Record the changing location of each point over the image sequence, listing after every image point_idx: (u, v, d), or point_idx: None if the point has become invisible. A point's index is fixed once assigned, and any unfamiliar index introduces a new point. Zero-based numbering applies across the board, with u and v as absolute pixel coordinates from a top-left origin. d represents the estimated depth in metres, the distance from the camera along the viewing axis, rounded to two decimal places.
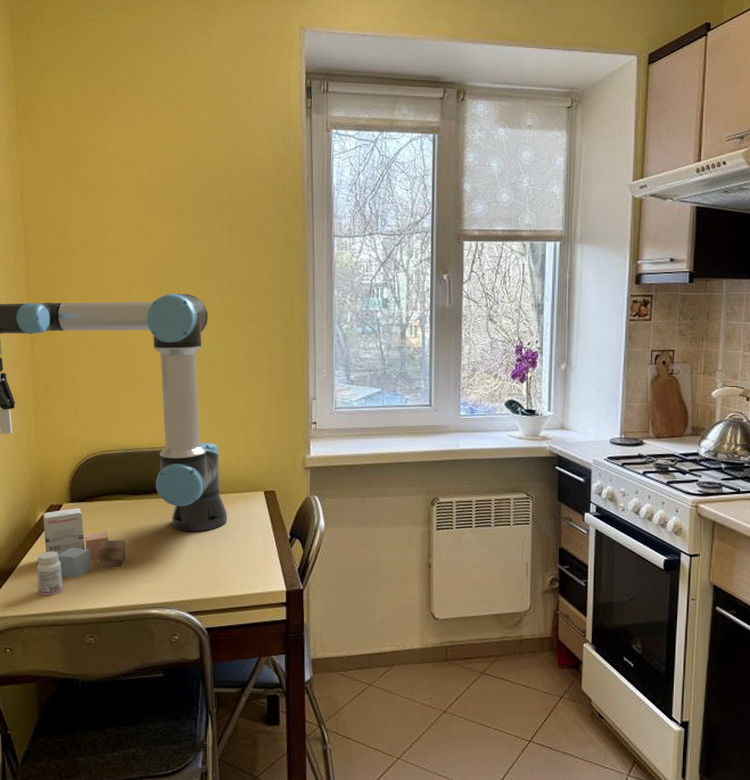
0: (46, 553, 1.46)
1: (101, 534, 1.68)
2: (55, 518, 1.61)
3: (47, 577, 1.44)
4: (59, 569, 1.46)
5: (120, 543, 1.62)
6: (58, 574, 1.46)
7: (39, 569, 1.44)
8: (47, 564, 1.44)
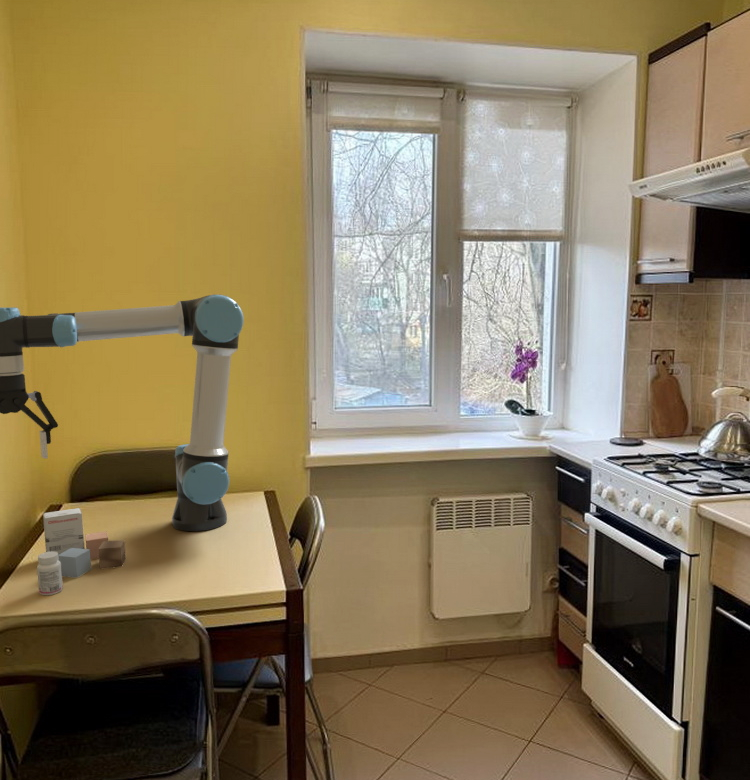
0: (46, 553, 1.46)
1: (101, 534, 1.68)
2: (55, 518, 1.61)
3: (47, 577, 1.44)
4: (59, 569, 1.46)
5: (120, 543, 1.62)
6: (58, 574, 1.46)
7: (39, 569, 1.44)
8: (47, 564, 1.44)
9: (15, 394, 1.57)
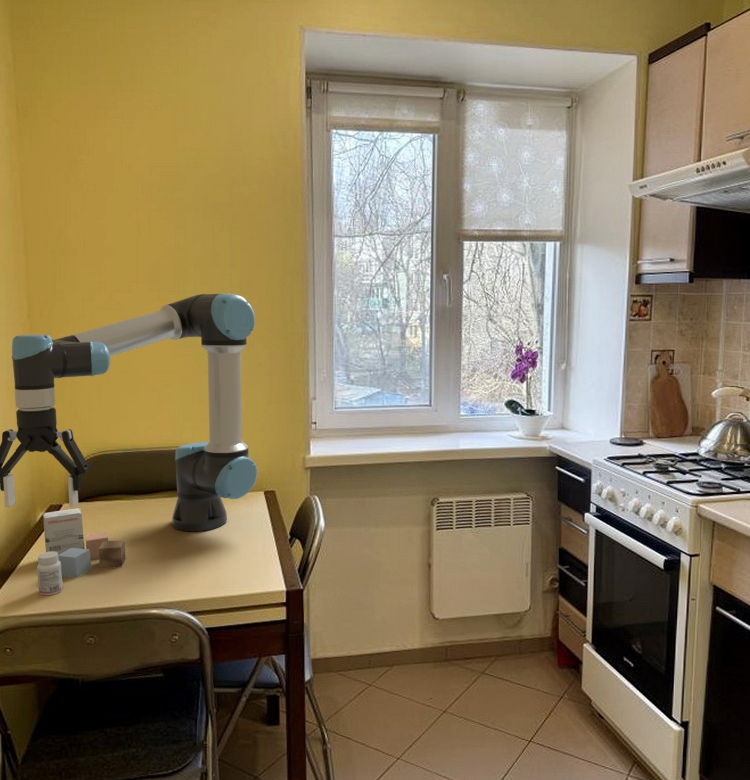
0: (46, 553, 1.46)
1: (101, 534, 1.68)
2: (55, 518, 1.61)
3: (47, 577, 1.44)
4: (59, 569, 1.46)
5: (120, 543, 1.62)
6: (58, 574, 1.46)
7: (39, 569, 1.44)
8: (47, 564, 1.44)
9: (41, 431, 1.41)
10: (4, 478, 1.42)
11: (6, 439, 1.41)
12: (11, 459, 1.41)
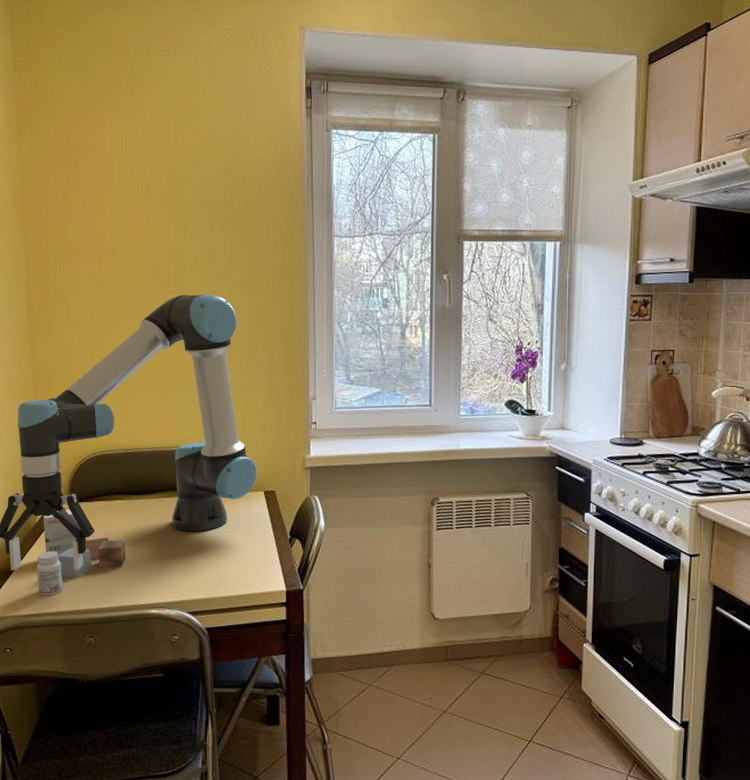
0: (46, 553, 1.46)
1: (101, 534, 1.68)
2: (55, 518, 1.61)
3: (47, 577, 1.44)
4: (59, 569, 1.46)
5: (120, 543, 1.62)
6: (58, 574, 1.46)
7: (39, 569, 1.44)
8: (47, 564, 1.44)
9: (46, 496, 1.43)
10: (10, 542, 1.44)
11: (12, 504, 1.43)
12: (17, 523, 1.43)
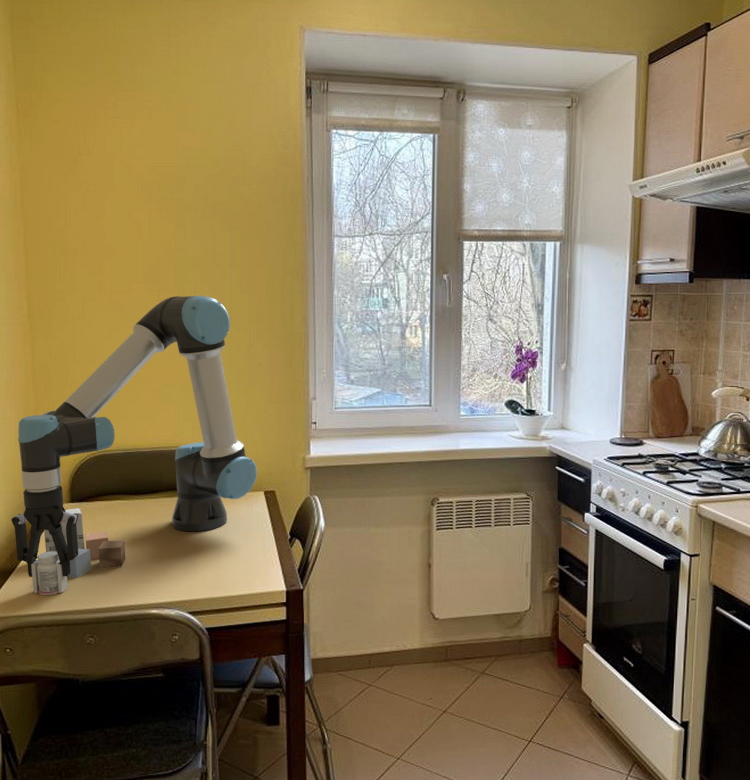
0: (46, 553, 1.46)
1: (101, 534, 1.68)
2: None
3: (47, 577, 1.44)
4: None
5: (120, 543, 1.62)
6: None
7: (39, 569, 1.44)
8: (47, 564, 1.44)
9: (50, 507, 1.43)
10: (32, 565, 1.45)
11: (17, 524, 1.43)
12: (31, 543, 1.44)
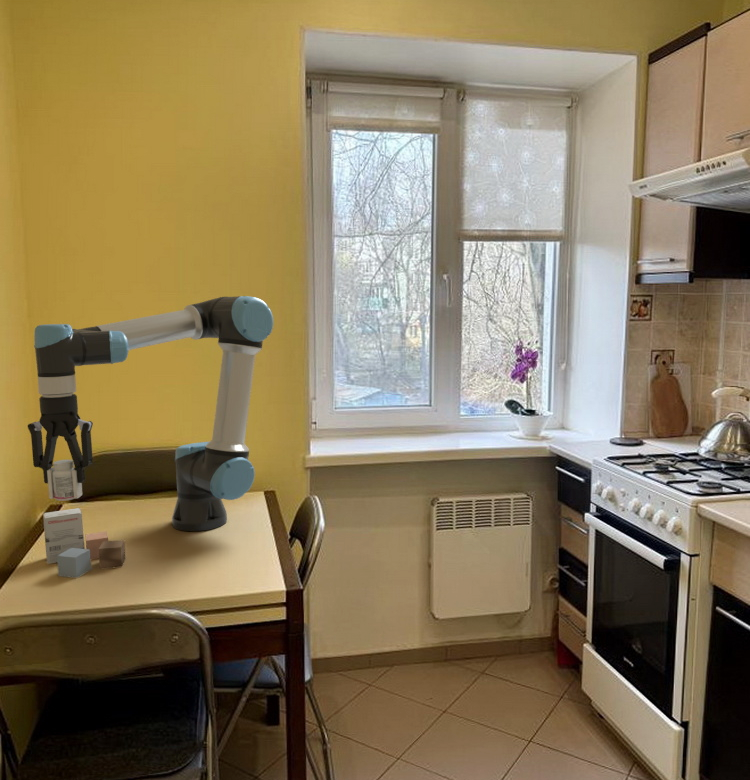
0: (61, 460, 1.50)
1: (101, 534, 1.68)
2: (55, 518, 1.61)
3: (62, 482, 1.47)
4: None
5: (120, 543, 1.62)
6: None
7: (55, 475, 1.47)
8: (62, 470, 1.48)
9: (65, 414, 1.46)
10: (48, 471, 1.48)
11: (33, 430, 1.47)
12: (46, 450, 1.47)
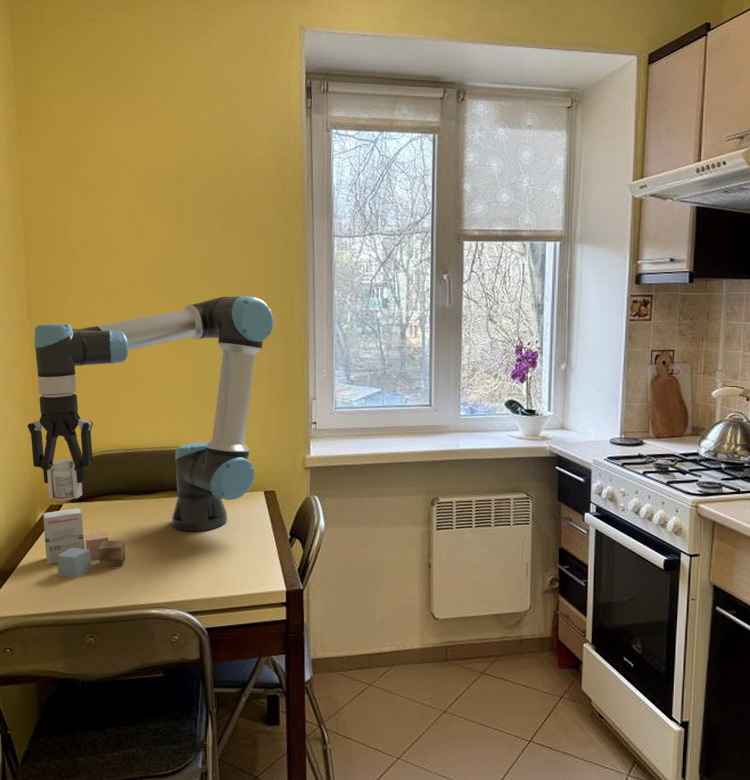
0: (61, 460, 1.50)
1: (101, 534, 1.68)
2: (55, 518, 1.61)
3: (62, 482, 1.47)
4: None
5: (120, 543, 1.62)
6: None
7: (55, 474, 1.47)
8: (62, 470, 1.48)
9: (65, 414, 1.46)
10: (48, 471, 1.48)
11: (33, 430, 1.47)
12: (46, 449, 1.47)
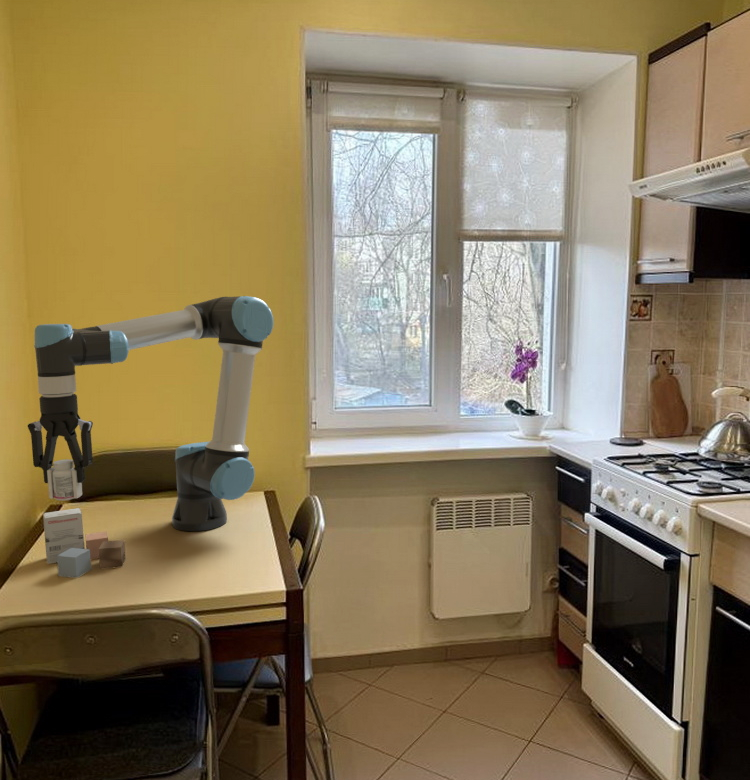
0: (61, 460, 1.50)
1: (101, 534, 1.68)
2: (55, 518, 1.61)
3: (62, 482, 1.47)
4: None
5: (120, 543, 1.62)
6: None
7: (55, 474, 1.47)
8: (62, 470, 1.48)
9: (65, 414, 1.46)
10: (48, 471, 1.48)
11: (33, 430, 1.47)
12: (46, 449, 1.47)
